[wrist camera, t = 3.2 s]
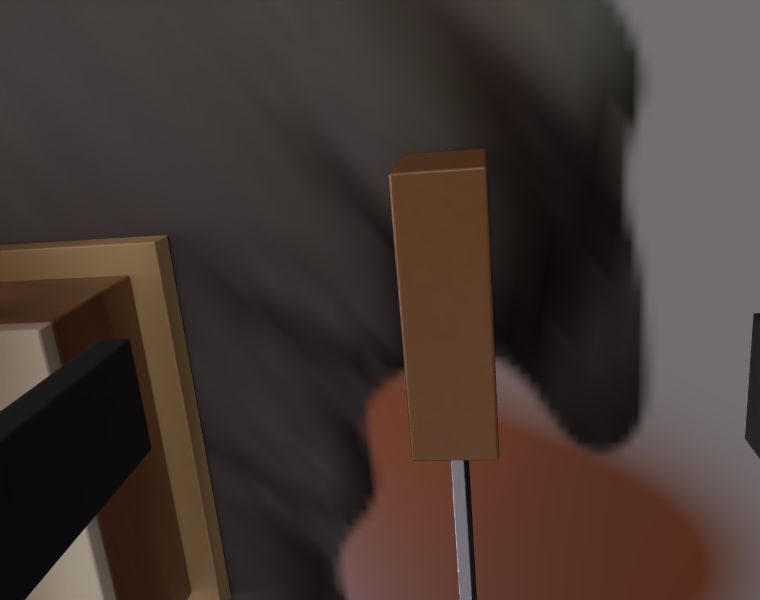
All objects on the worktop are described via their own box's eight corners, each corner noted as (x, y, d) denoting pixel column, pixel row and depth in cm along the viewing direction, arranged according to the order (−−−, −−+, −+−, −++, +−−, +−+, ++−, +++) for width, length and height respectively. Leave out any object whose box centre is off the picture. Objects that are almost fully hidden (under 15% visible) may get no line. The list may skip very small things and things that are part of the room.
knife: (403, 154, 22) (387, 172, 18) (485, 148, 21) (486, 166, 17) (449, 749, 28) (444, 854, 25) (511, 752, 28) (516, 859, 24)
